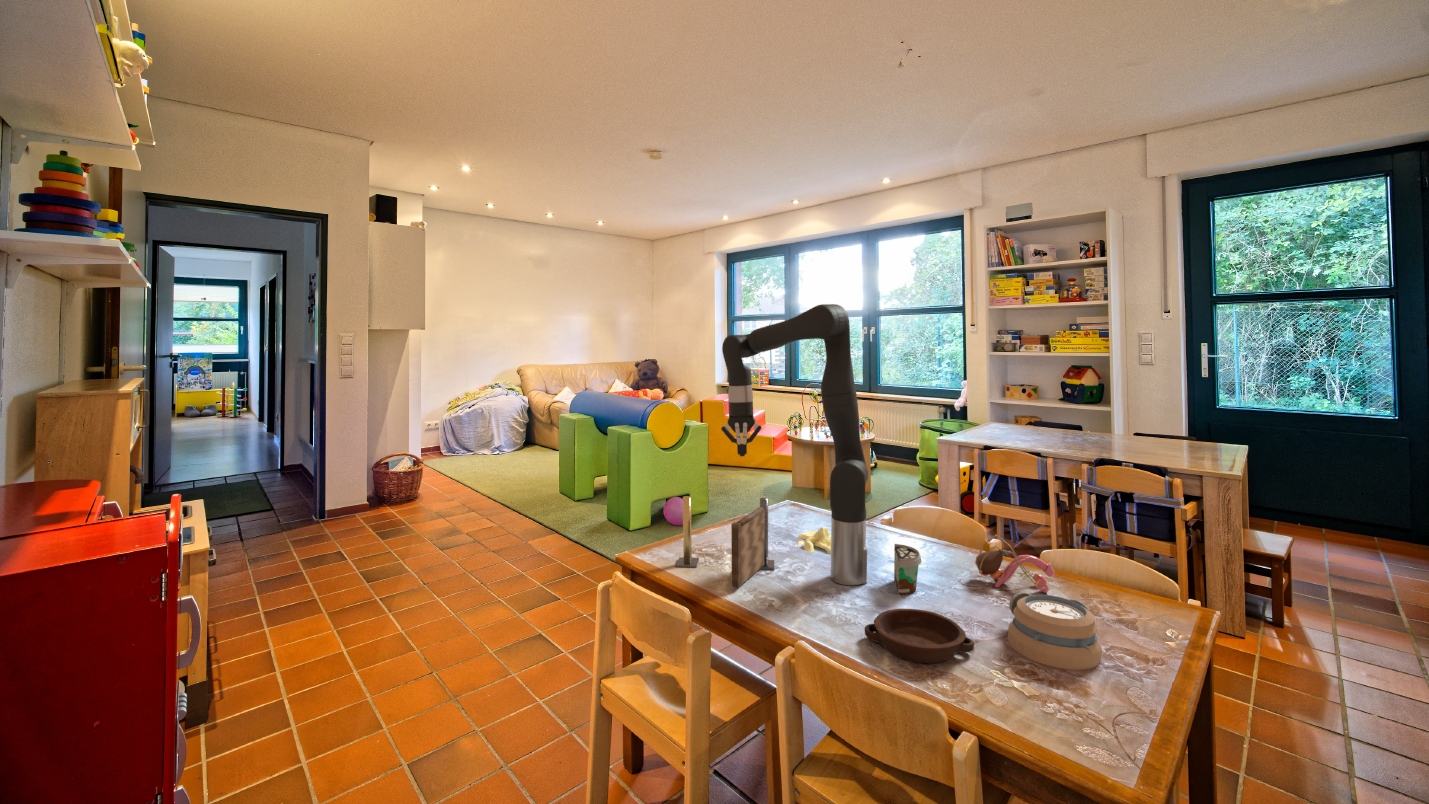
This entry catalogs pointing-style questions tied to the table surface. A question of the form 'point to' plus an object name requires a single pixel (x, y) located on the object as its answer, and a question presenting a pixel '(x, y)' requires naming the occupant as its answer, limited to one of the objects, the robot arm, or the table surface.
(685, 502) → the gate frame
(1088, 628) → the alarm clock
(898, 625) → the dish
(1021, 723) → the table surface
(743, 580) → the gate panel
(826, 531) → the cloth
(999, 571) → the anatomy model
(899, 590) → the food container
